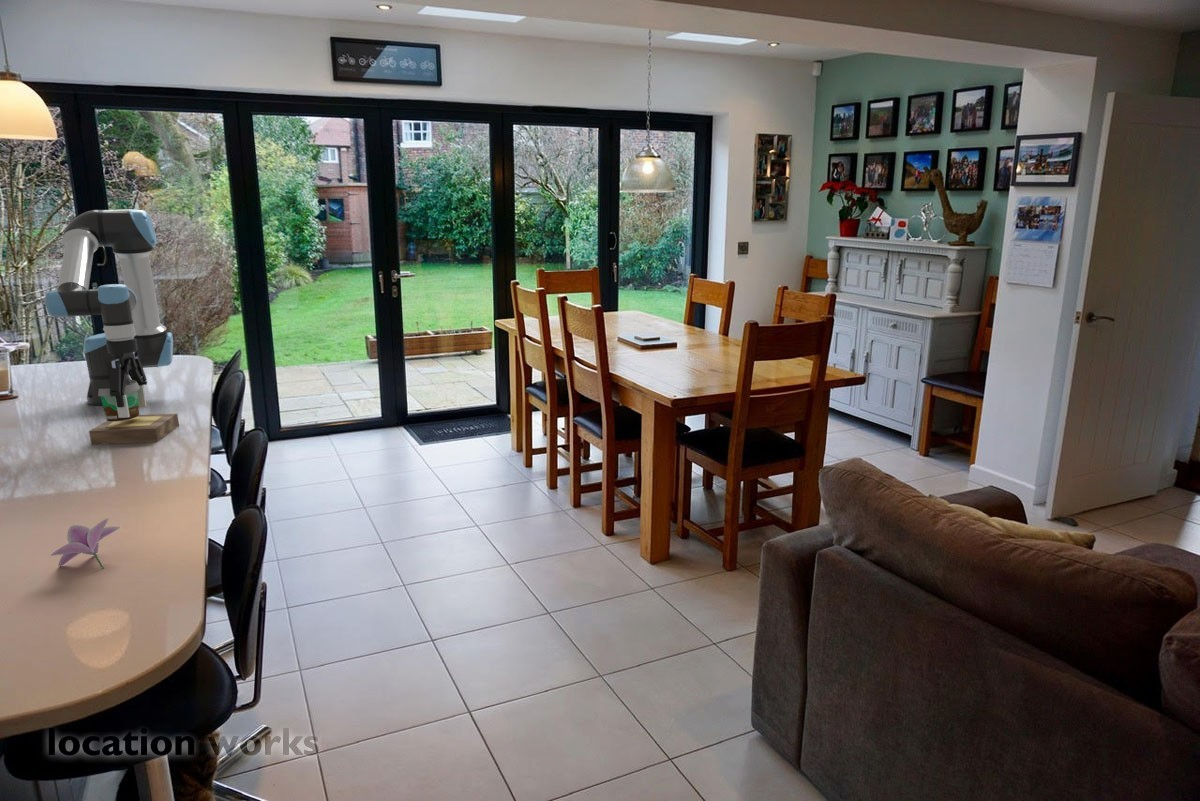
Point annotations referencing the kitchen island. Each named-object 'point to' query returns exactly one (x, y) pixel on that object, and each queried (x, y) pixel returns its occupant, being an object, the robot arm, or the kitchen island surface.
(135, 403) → the food container
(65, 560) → the lily
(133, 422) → the plate
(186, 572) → the kitchen island surface
